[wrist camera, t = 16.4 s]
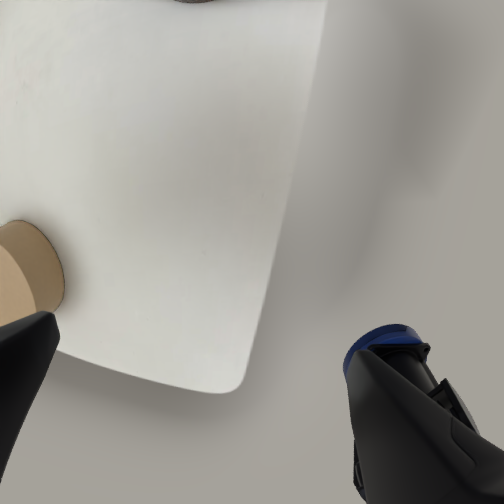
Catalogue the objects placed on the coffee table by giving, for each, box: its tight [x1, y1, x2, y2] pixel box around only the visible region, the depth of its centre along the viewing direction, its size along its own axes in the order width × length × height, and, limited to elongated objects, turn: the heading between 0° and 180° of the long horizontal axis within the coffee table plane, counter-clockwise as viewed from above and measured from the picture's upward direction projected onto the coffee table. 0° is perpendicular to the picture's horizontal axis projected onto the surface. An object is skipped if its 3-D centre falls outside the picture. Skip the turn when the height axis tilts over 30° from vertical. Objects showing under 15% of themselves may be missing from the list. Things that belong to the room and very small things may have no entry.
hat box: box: [0, 221, 64, 327], centre depth 20 cm, size 9×9×4 cm
